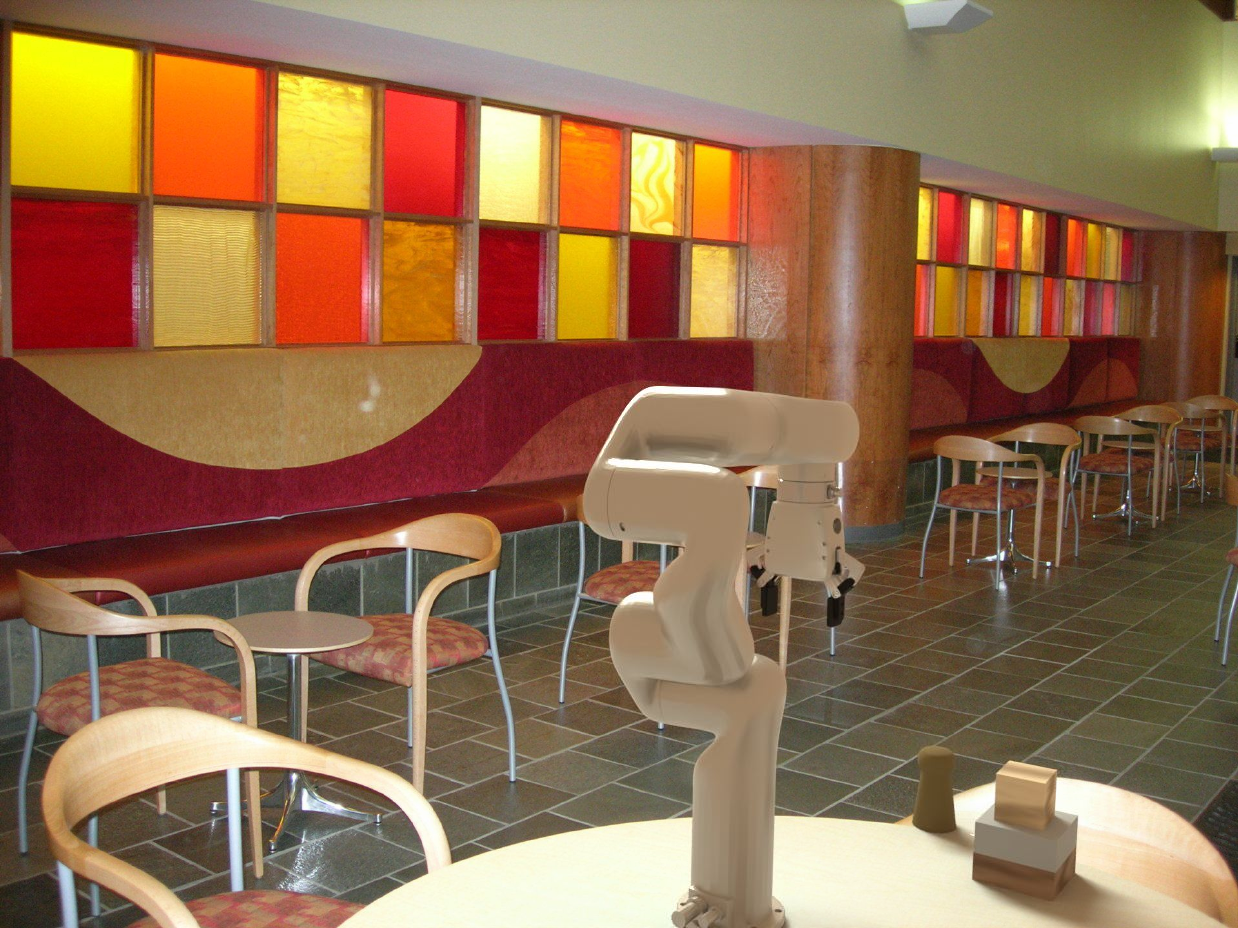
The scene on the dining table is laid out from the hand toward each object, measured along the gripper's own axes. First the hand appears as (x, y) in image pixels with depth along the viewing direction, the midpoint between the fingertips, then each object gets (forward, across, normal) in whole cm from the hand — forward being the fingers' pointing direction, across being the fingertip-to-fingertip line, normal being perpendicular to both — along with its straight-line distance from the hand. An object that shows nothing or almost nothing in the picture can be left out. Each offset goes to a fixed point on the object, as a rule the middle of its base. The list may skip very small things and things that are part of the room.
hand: (801, 620), depth 160 cm
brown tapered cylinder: (+31, -13, -17) cm, 37 cm away
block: (+23, -28, -8) cm, 37 cm away
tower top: (+27, -29, -8) cm, 40 cm away
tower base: (+31, -28, -8) cm, 43 cm away
